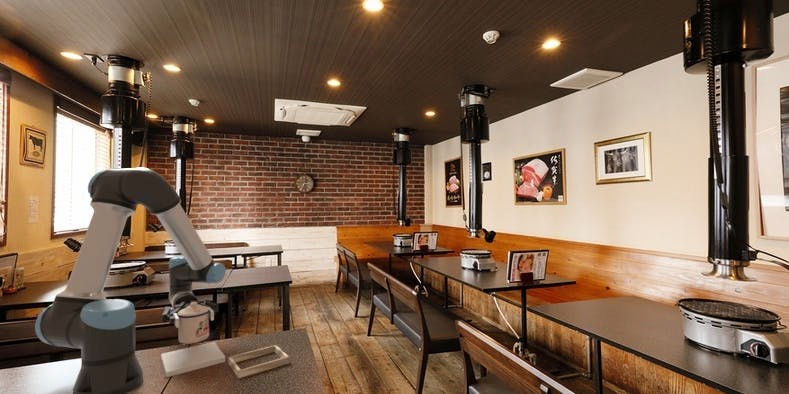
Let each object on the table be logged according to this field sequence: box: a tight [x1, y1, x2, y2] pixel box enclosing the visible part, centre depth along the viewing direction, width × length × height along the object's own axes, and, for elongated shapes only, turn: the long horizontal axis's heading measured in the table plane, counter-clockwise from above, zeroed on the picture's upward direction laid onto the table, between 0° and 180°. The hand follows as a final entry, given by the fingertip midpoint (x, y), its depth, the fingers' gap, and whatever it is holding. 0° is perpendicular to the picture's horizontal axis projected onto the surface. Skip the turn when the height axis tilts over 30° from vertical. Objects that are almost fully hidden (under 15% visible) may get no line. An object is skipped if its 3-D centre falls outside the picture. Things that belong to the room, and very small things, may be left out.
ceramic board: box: [160, 341, 226, 378], centre depth 115 cm, size 16×16×2 cm
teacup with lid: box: [177, 302, 210, 345], centre depth 117 cm, size 12×9×12 cm
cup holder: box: [227, 344, 290, 379], centre depth 113 cm, size 12×15×2 cm
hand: (195, 319), depth 112 cm, fingers closed on teacup with lid, 9 cm apart
